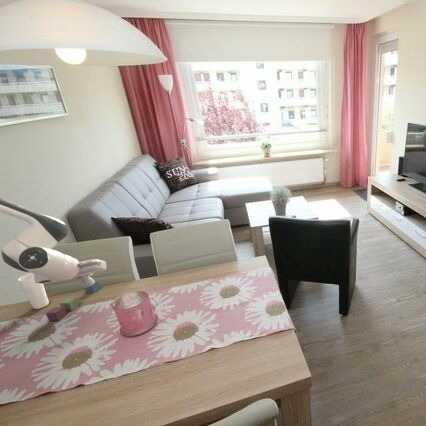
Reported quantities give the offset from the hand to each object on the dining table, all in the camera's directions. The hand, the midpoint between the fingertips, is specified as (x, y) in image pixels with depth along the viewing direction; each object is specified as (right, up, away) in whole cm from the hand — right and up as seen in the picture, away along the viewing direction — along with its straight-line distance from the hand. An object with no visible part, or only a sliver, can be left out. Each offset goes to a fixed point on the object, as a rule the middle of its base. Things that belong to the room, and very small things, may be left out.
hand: (84, 275), depth 117 cm
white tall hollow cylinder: (-29, -16, +12) cm, 35 cm away
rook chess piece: (+1, -4, +1) cm, 5 cm away
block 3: (-13, -12, +21) cm, 28 cm away
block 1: (-13, -18, +3) cm, 23 cm away
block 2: (-13, -16, +9) cm, 23 cm away
